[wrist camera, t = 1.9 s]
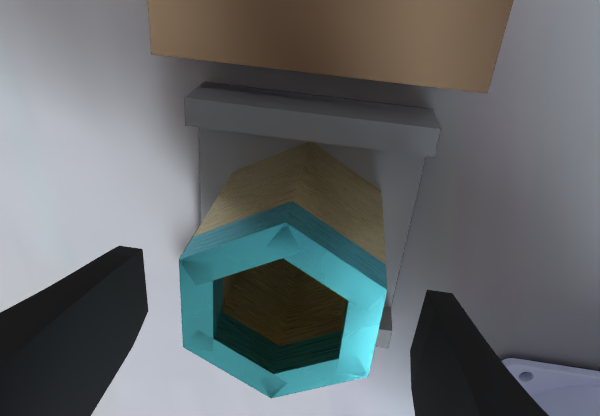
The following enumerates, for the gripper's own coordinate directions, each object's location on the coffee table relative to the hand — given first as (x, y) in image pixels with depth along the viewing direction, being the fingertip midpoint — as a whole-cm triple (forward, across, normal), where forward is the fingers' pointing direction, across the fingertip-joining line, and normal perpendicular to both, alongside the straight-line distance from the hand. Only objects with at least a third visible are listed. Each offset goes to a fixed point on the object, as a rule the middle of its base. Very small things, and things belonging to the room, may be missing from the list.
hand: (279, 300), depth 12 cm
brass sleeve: (+4, 0, 0) cm, 4 cm away
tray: (+5, 0, 0) cm, 5 cm away
